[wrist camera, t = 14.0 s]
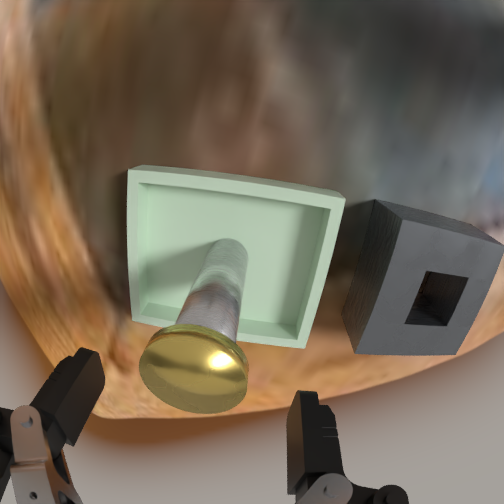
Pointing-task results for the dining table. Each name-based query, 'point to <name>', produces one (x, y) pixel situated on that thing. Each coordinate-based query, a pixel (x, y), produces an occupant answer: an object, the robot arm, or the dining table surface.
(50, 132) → the dining table surface
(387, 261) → the socket block
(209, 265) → the pin
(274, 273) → the tray
